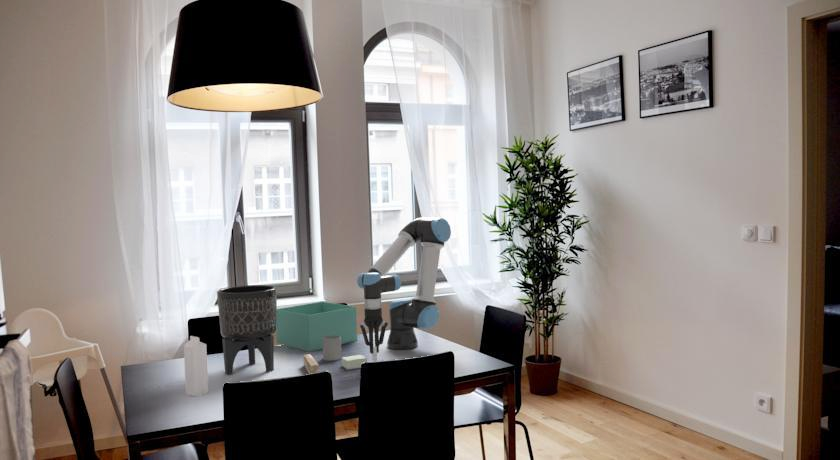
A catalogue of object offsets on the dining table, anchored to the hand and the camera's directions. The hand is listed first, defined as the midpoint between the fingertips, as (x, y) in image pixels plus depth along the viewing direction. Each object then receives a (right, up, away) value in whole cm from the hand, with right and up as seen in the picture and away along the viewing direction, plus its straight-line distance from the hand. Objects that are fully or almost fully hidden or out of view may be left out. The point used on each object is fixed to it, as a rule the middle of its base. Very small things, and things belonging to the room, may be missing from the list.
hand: (374, 360), depth 273 cm
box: (-34, -1, +47) cm, 58 cm away
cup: (-20, -2, +12) cm, 24 cm away
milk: (-66, -5, -37) cm, 75 cm away
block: (-9, -2, -3) cm, 9 cm away
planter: (-54, -3, -4) cm, 54 cm away
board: (-27, -3, -10) cm, 28 cm away
